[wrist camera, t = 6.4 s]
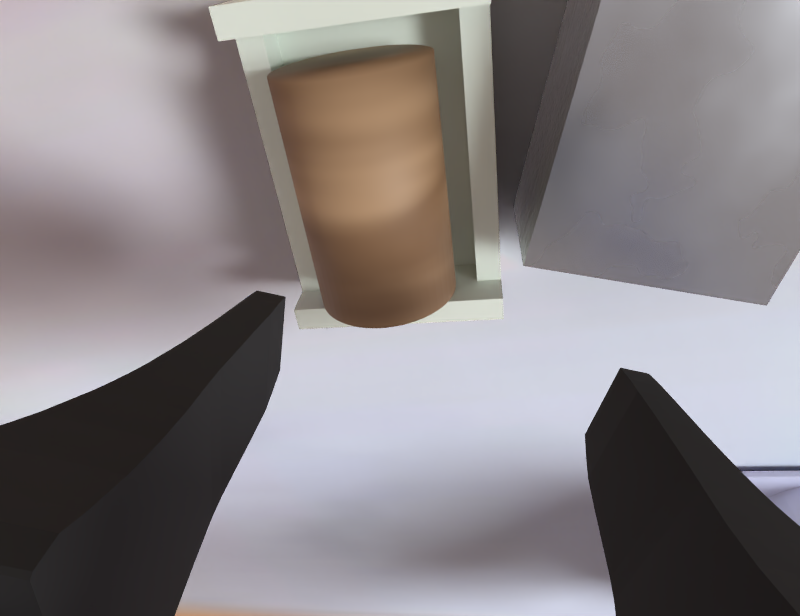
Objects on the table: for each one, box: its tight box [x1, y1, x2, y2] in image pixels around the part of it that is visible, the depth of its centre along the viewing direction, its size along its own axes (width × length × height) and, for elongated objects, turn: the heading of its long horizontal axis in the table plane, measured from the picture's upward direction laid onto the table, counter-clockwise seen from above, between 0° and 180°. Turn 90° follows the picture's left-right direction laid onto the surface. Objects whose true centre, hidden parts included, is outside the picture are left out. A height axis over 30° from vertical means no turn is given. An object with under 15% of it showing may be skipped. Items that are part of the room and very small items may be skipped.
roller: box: [267, 44, 456, 328], centre depth 17 cm, size 7×4×4 cm, turn 8°
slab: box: [514, 0, 800, 305], centre depth 16 cm, size 8×7×4 cm
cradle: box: [208, 0, 504, 329], centre depth 18 cm, size 10×7×3 cm
